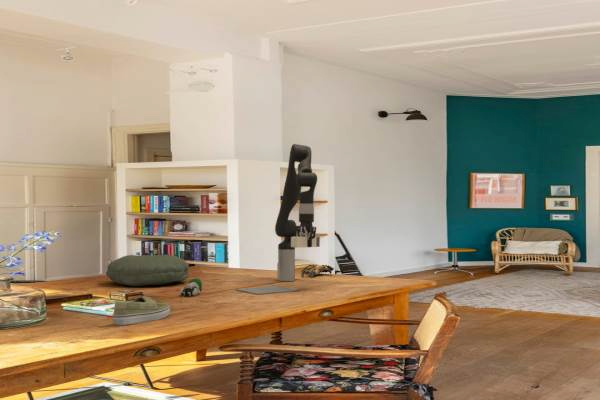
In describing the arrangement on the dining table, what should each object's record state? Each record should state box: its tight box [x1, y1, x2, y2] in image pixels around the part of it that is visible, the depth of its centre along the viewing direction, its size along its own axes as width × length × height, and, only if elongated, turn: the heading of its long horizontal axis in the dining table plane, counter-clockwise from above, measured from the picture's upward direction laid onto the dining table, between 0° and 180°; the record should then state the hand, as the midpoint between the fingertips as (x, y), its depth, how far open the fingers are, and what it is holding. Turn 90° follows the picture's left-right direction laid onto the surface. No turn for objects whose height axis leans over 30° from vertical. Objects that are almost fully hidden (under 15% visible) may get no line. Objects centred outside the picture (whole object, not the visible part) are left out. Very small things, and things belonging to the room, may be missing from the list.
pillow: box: [105, 254, 190, 287], centre depth 388 cm, size 43×15×41 cm
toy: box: [179, 277, 203, 298], centre depth 344 cm, size 9×7×15 cm
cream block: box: [291, 235, 321, 249], centre depth 365 cm, size 5×5×14 cm
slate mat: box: [235, 285, 300, 296], centre depth 360 cm, size 20×24×1 cm
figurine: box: [300, 263, 335, 278], centre depth 430 cm, size 19×6×30 cm
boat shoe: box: [112, 295, 171, 326], centre depth 275 cm, size 10×29×9 cm, turn 155°
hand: (306, 246), depth 366 cm, fingers closed on cream block, 5 cm apart
